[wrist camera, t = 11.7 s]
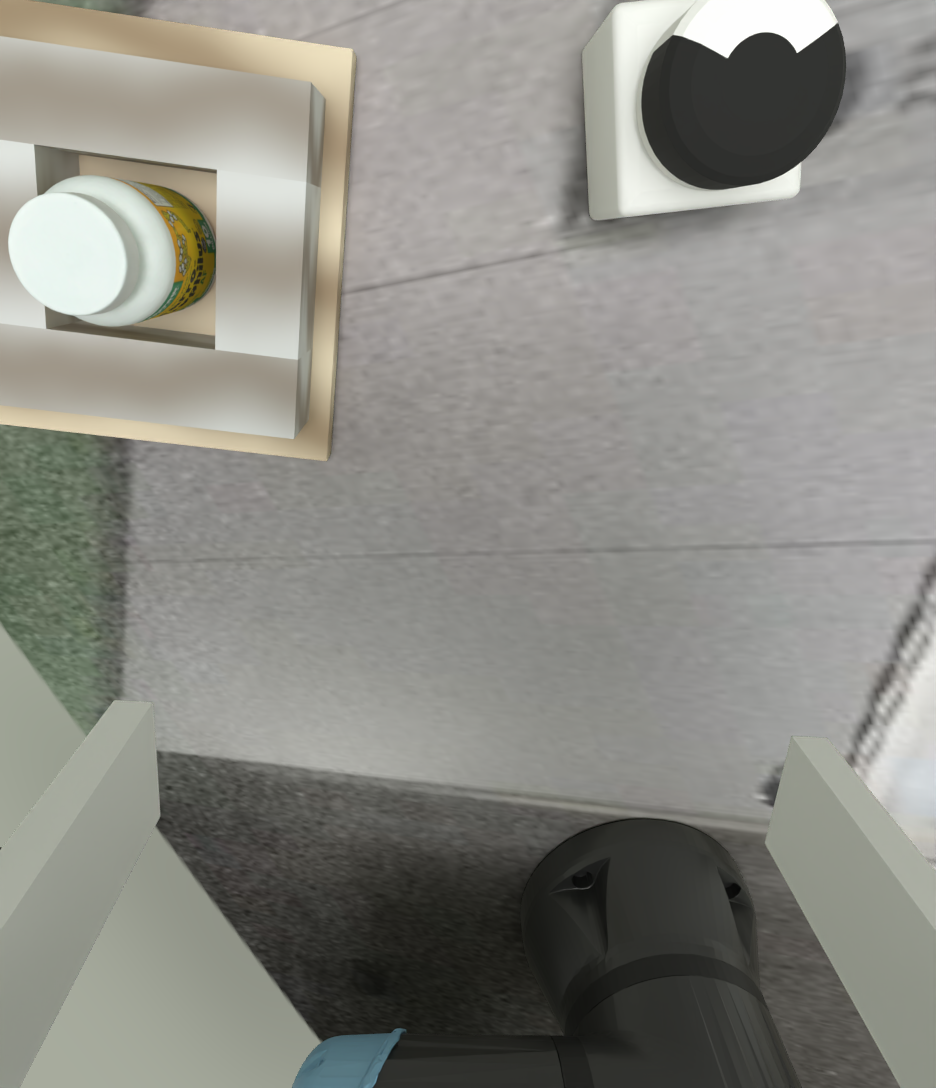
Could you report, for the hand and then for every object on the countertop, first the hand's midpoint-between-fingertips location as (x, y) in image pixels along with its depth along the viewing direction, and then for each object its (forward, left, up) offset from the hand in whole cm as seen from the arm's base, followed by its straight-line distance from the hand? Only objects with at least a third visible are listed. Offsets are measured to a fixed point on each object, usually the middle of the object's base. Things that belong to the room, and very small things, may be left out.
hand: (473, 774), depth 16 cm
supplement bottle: (+8, +15, -25) cm, 30 cm away
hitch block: (+8, +15, -27) cm, 31 cm away
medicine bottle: (+16, -7, -27) cm, 32 cm away
